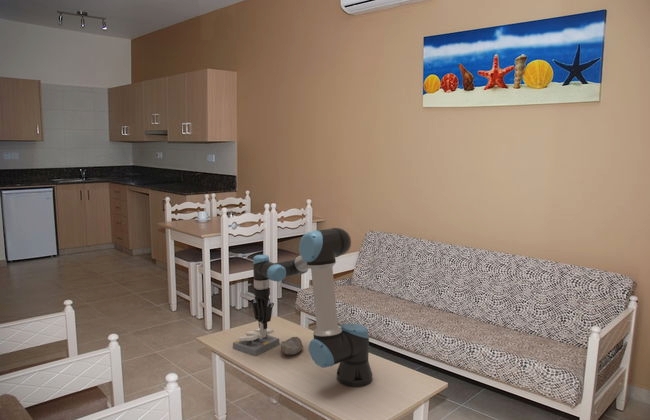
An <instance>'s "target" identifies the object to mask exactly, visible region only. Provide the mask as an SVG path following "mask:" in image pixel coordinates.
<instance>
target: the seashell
mask: <svg viewBox="0 0 650 420" xmlns="http://www.w3.org/2000/svg"><path fill="white" fill-rule="evenodd" d="M303 349H304V344H303V342H302V340H301V339H300V337H298V336H292V337H290V338H288V339H286V340H284V341H281V343H280V350H281V351H282V353H284V354H285V355H287V356H289V355H290V356H293V355H295V354H298V353H299V352H301V350H303Z"/></svg>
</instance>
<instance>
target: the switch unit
mask: <svg viewBox="0 0 650 420" xmlns="http://www.w3.org/2000/svg"><path fill="white" fill-rule="evenodd" d="M279 345H280V337H275V336H273V335H270V334H266V337H264V338H262V339H260V338H257V339H255V340H251V341H238V339H237V340H236V341H233V342H232V349H233V348H234V349H233V350H236V349H237V350H236V351H240V352H242V353H245V354H248V355H251V356H254V357H257V356H258V355H261V354H262V353H265V352H267V351H269V350H271V349H274V348H275V347H276V346H279Z"/></svg>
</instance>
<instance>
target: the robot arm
mask: <svg viewBox="0 0 650 420" xmlns="http://www.w3.org/2000/svg"><path fill="white" fill-rule="evenodd" d="M298 245H299V246H298V247H299V249H298V250H299V251H298V252H299V255H298V256H297V257H295V258H293V259H290V260H285V261H284V260H283V261H278V262H271V261H270V257H269V255H267V254H257V255H255V256H253V258H252V259H253V262H252V266H253V269H252V270H253V294H254V298H253V299H251V300H250V302H251V304H252V309H253V310H252V311H253V314H254V319H255V320H256V321H257V322H258V328H260V335H262V336H264V335H266V334H267V329H268V323H269V322H271V319H272V313H273V307H275V306H274V305H275V304H274V302H272V301H271V298H270V295H271V287H270V284H271V283H270V281H273V282H282V281H283V280H285V278H290V277H293V276H298V275H301V276H302V275H304V274H306V273H308V271H309V270H310V271H311V283H312V293H313V294H312V295H313V301H314V304H313V305H314V314H315V325H316V326H315V327H316V328H315V330H314V331H313V339H312V340H310V341H309V344H308V352H309V355H310V358H311V360H312V361H313V362H314V364H316V365H317V366H318V367H320V368H328V367H333V366H334V365H337V364H339V365H338V368H337V370H336V381H337V382H338V383H340V384H341V385H342V386H347V387H354V388H357V387H360V388H361V387H363V386H367V385H370V384H371V383H372V381H373V371H372V368H371V365H370V361H369V352H370V351H369V349H370V347H369V346H370V345H369V344H370V342H369V341H370V335H369V329H368V327H366V326H365V325H362V324H358V323H351V322H350V323H343V324H341V326H339V324H338V323H339V322H338V313H337V302H336V291H335V290H336V289H335V282H334V281H335V279H334V272H333V271H334V270H333V267H334V266H335V264H336V263H337V261H336V260H337V259H336V258H338V257H340V256H343V255H345V254H347V253H348V252H349V250H350V249H351V246H352V239H351V236H350V234H349V233H348V232H347V231H346V230H345V229H343V228H339V227H332V228H325V229H316V230H312V231H309V232H308V231H307V232H305V233H304V234H303V235H302V237H301V239H300V241H299V244H298ZM267 335H268V334H267Z"/></svg>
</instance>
